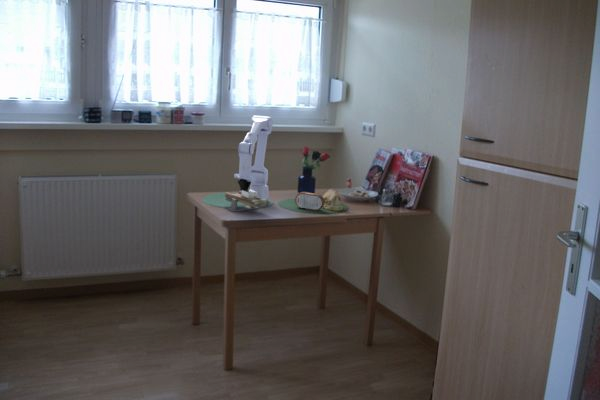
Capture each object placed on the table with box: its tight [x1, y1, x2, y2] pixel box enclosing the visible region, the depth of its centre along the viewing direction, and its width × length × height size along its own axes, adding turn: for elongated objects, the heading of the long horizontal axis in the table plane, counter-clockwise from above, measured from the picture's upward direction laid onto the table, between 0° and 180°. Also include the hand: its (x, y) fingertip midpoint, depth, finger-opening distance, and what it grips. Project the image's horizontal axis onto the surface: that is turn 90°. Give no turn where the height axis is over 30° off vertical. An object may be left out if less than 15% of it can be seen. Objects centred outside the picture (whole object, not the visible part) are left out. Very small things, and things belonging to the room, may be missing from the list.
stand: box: [228, 198, 259, 213], centre depth 293 cm, size 14×5×6 cm, turn 133°
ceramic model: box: [322, 188, 343, 212], centre depth 310 cm, size 14×11×10 cm
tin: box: [294, 191, 325, 211], centre depth 303 cm, size 15×3×8 cm, turn 71°
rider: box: [241, 188, 257, 201], centre depth 289 cm, size 5×6×4 cm
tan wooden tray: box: [224, 190, 269, 207], centre depth 292 cm, size 10×22×4 cm, turn 43°
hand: (243, 194), depth 293 cm, fingers closed
